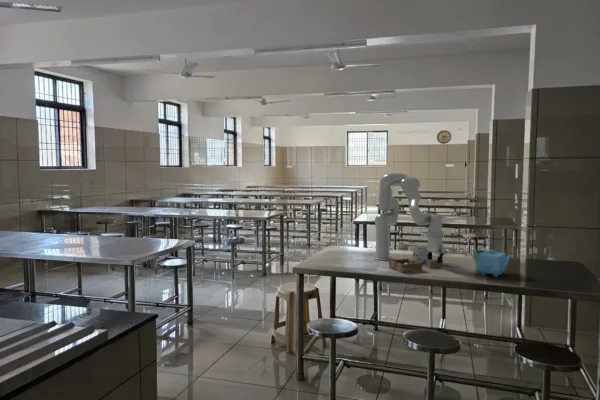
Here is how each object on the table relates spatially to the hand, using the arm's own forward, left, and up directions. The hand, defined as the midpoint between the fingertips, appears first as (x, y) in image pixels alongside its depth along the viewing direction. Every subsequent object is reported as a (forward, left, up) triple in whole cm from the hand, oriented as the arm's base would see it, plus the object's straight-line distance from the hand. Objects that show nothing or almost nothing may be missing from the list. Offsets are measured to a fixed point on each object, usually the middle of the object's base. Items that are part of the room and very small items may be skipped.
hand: (434, 261), depth 289 cm
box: (0, -22, -5) cm, 22 cm away
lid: (0, 0, -5) cm, 5 cm away
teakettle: (+25, +21, -5) cm, 33 cm away
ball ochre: (-3, -19, -4) cm, 20 cm away
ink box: (-16, +1, -5) cm, 17 cm away
